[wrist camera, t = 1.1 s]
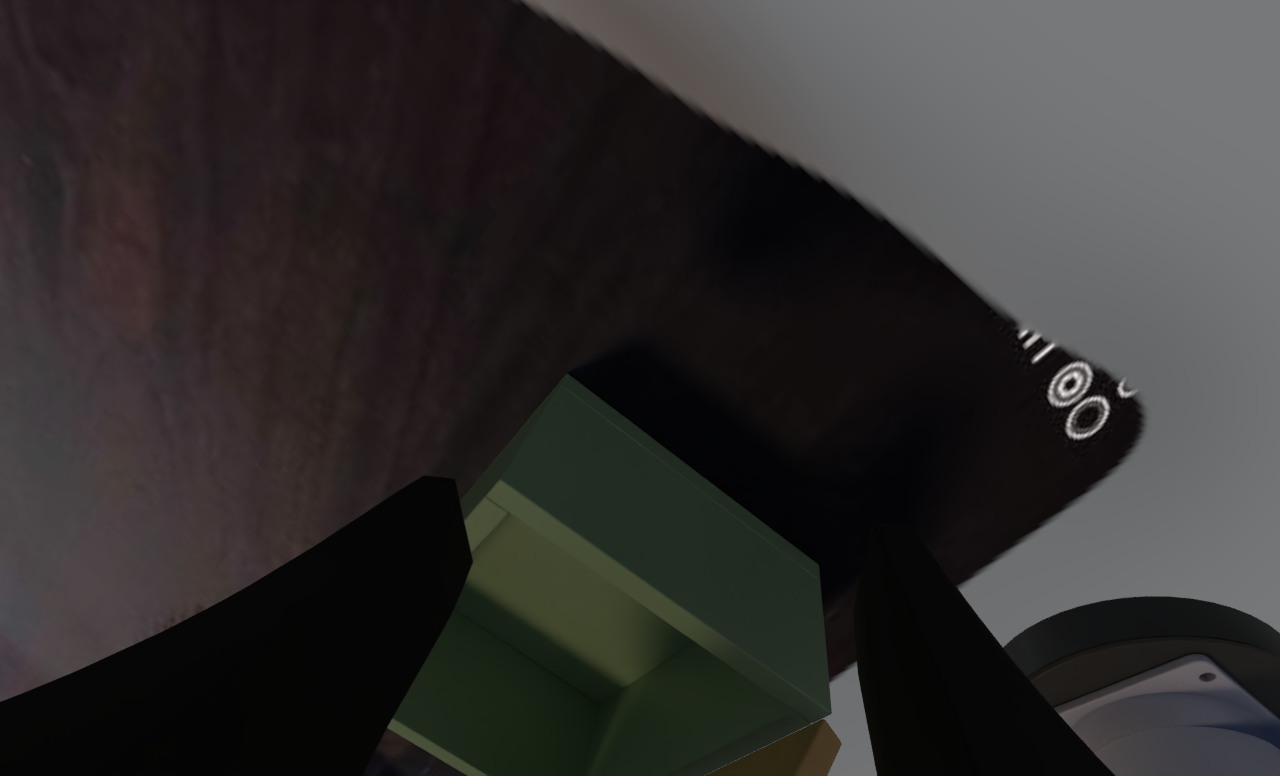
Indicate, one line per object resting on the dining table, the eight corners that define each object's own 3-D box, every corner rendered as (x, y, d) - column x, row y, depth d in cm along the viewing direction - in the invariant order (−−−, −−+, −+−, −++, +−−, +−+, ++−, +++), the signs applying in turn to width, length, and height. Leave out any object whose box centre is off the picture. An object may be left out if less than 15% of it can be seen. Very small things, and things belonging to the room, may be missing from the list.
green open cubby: (402, 569, 27) (318, 687, 22) (567, 372, 20) (499, 479, 15) (607, 702, 29) (573, 839, 24) (819, 564, 22) (832, 714, 17)
